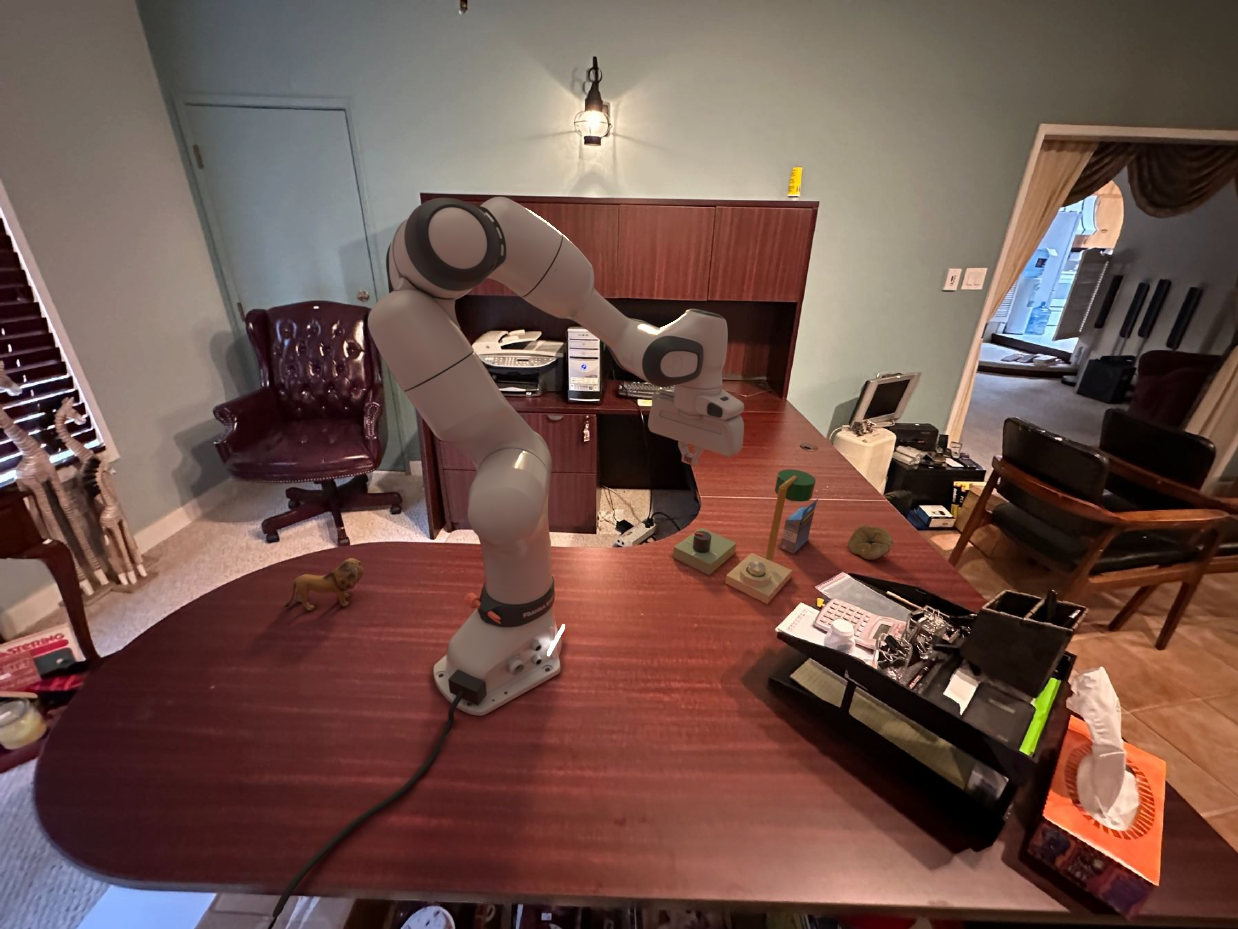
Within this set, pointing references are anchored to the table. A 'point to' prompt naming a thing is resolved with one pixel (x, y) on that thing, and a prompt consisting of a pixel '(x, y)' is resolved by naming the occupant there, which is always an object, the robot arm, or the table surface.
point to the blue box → (797, 528)
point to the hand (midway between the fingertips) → (689, 463)
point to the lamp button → (756, 569)
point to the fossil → (870, 542)
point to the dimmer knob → (702, 541)
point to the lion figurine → (328, 583)
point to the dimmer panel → (705, 561)
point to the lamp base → (759, 578)
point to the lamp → (788, 498)
